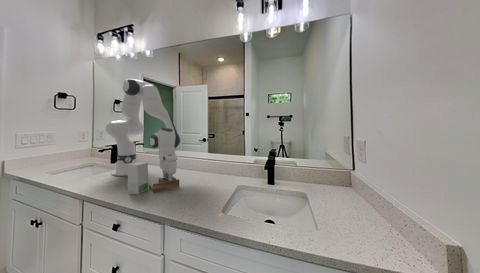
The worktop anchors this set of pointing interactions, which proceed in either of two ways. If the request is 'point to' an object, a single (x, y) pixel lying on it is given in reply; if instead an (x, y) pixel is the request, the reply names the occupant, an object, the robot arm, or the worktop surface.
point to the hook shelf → (164, 185)
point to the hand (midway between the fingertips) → (167, 178)
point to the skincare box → (137, 177)
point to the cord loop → (165, 179)
